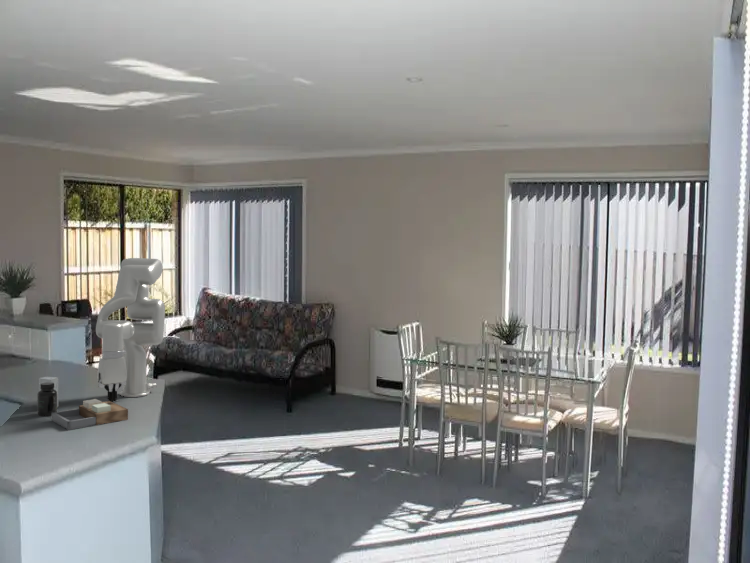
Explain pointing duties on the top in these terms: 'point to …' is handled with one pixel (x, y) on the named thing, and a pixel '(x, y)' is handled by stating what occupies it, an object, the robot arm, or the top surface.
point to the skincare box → (50, 379)
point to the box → (72, 419)
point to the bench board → (106, 413)
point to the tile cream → (91, 403)
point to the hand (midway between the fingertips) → (112, 400)
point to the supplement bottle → (46, 399)
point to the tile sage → (101, 408)
